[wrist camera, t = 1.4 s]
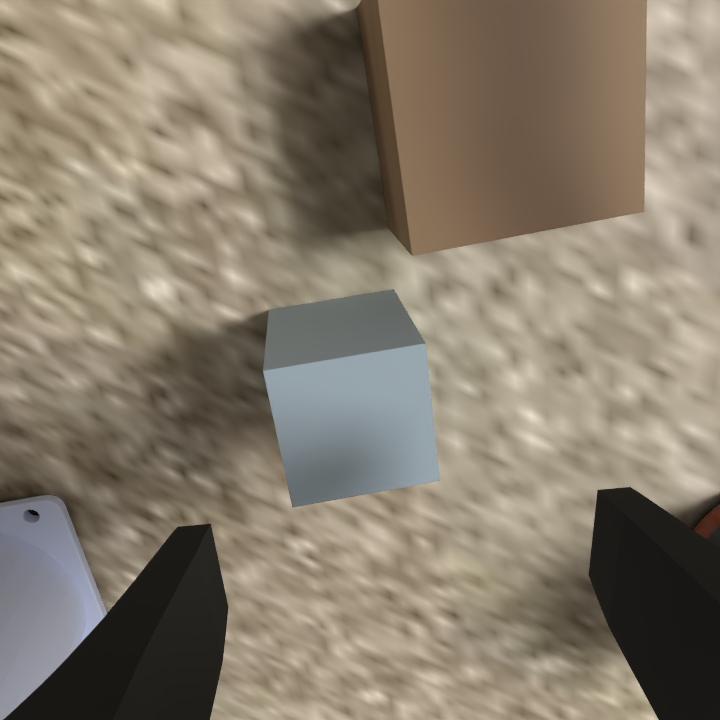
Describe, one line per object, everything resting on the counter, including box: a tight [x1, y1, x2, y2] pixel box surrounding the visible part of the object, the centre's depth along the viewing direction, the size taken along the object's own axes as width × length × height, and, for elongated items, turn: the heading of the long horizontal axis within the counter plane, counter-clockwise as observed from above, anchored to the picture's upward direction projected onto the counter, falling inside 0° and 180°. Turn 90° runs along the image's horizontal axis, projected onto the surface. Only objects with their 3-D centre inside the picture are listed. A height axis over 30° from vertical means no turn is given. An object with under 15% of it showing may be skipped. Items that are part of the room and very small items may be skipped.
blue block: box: [263, 289, 440, 507], centre depth 18 cm, size 4×4×5 cm
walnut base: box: [357, 0, 647, 256], centre depth 16 cm, size 6×6×4 cm
